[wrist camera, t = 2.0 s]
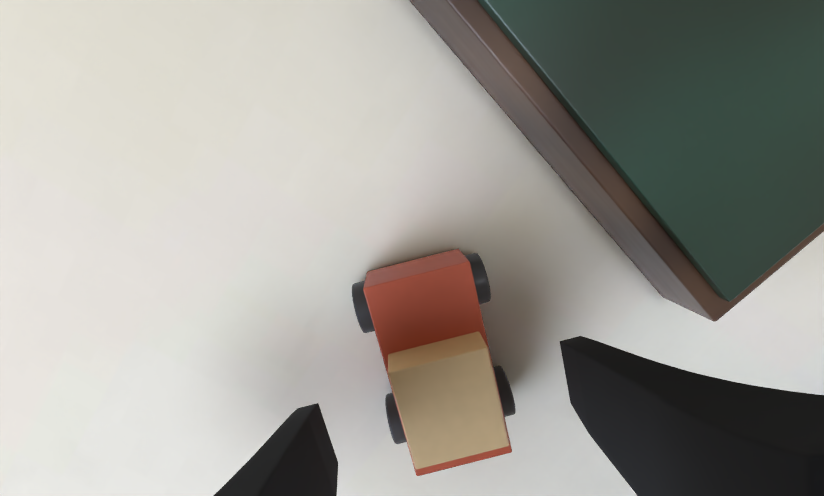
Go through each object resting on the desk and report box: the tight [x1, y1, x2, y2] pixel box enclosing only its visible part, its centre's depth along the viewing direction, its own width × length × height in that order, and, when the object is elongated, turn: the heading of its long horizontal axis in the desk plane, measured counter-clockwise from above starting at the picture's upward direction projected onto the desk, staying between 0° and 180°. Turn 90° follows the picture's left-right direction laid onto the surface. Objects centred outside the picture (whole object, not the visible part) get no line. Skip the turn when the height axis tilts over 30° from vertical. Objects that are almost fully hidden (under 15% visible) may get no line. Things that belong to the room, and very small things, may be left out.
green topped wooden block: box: [410, 0, 824, 321], centre depth 12 cm, size 16×11×3 cm
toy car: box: [352, 249, 515, 476], centre depth 14 cm, size 7×5×4 cm, turn 14°
